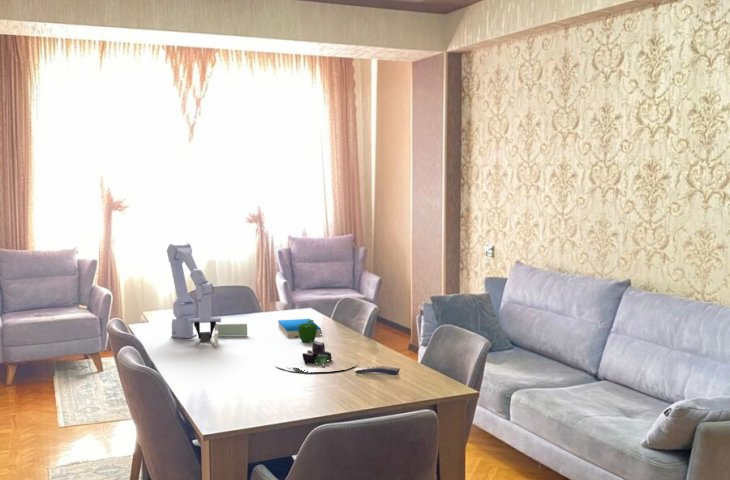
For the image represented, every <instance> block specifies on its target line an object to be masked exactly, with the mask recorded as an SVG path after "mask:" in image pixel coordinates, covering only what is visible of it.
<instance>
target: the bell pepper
mask: <svg viewBox="0 0 730 480" xmlns="http://www.w3.org/2000/svg"><path fill="white" fill-rule="evenodd" d="M310 322H314V319H311V320H309V321H308V322H307V323H305V324H300V326H299V336H300V337H299V339H300V340H301V341H302V342H303V343H310V342H311V341H312V342H315V340H316V337H317V336H316V333H317V327H316V325H317V324H316V323H315V324H316V325H315V324H310V325H309V323H310Z"/></svg>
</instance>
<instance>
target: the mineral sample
mask: <svg viewBox="0 0 730 480" xmlns="http://www.w3.org/2000/svg"><path fill="white" fill-rule="evenodd" d="M301 355H302V359H303V363H304V365H308V364H307V363H312V364H315V363H317V364H324V365H325V364H326V362H325V361H327V360H331V359H332V360H333V358H332V353H331V352H330V351H327V350H326V347H325V343H324V342H313V343H312V347H311V349H308V350H307V351H306V353H305V352H303V353H302V354H301ZM332 360H331V361H332ZM317 364H316V365H317ZM275 368H277V369H279V370H282V371H284V372H285V371H287V372H288V371H289V372H290V373H291V372H292V373H297V374H298V373H301V374H307V373H306V372H304V371H305V370H304V371H302V370H300V369H299V368H298V367H297V368H296V367H292V368H293V369H292V368H291V367H288V370H287V369H286V368H281V367H278V366H276V365H275ZM307 372H308V371H307ZM310 374H313V373H312V372H311V373H310ZM314 374H319V373H318V372H315V373H314Z"/></svg>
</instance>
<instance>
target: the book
mask: <svg viewBox="0 0 730 480" xmlns="http://www.w3.org/2000/svg"><path fill="white" fill-rule="evenodd" d="M309 320H312V319H311V318H298V319H279V320H277V322H278V328H279V330H280V331H281V330H282V331H283V332H282V331H281V332H282V333H283V334H284V335H285V337H286V338H287V337H289V338H296V337H295V336H299V326H300V324H305V323H307V322H308V321H309ZM310 324H315V325H316V327H317V333H316V335H320V334H321V335H322V334H323V331H322V329H321V327H320V326H319V325H318V324H316V323H315V322H314V321H313V322H310V323H309V325H310ZM321 335H320V336H321Z"/></svg>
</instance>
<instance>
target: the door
mask: <svg viewBox="0 0 730 480" xmlns="http://www.w3.org/2000/svg"><path fill="white" fill-rule="evenodd" d="M228 336H229V337H231V336H232V337H235V336H237V337H239V336H244V337H245V336H248V323H218V337H228Z"/></svg>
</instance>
